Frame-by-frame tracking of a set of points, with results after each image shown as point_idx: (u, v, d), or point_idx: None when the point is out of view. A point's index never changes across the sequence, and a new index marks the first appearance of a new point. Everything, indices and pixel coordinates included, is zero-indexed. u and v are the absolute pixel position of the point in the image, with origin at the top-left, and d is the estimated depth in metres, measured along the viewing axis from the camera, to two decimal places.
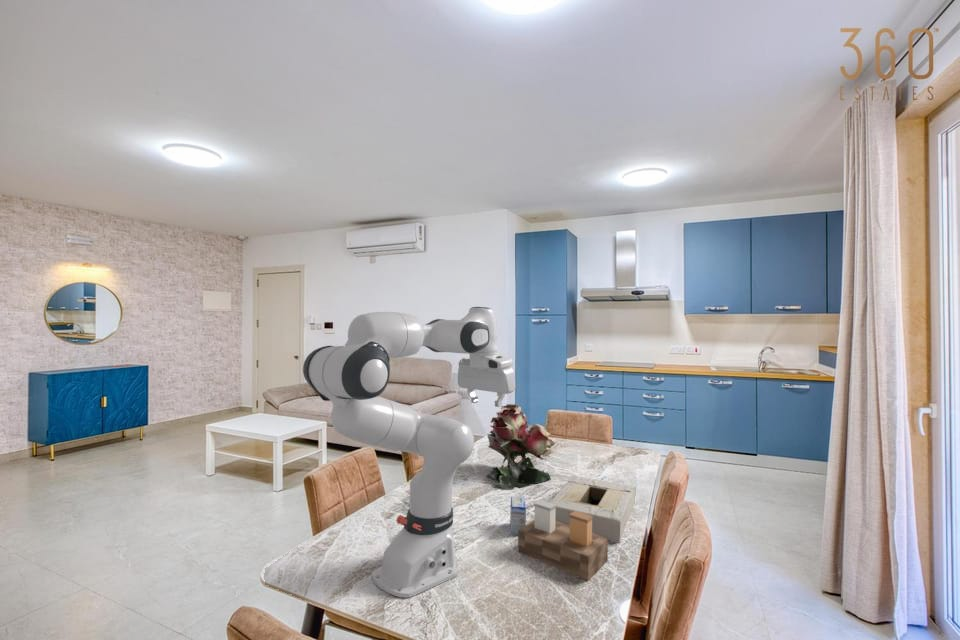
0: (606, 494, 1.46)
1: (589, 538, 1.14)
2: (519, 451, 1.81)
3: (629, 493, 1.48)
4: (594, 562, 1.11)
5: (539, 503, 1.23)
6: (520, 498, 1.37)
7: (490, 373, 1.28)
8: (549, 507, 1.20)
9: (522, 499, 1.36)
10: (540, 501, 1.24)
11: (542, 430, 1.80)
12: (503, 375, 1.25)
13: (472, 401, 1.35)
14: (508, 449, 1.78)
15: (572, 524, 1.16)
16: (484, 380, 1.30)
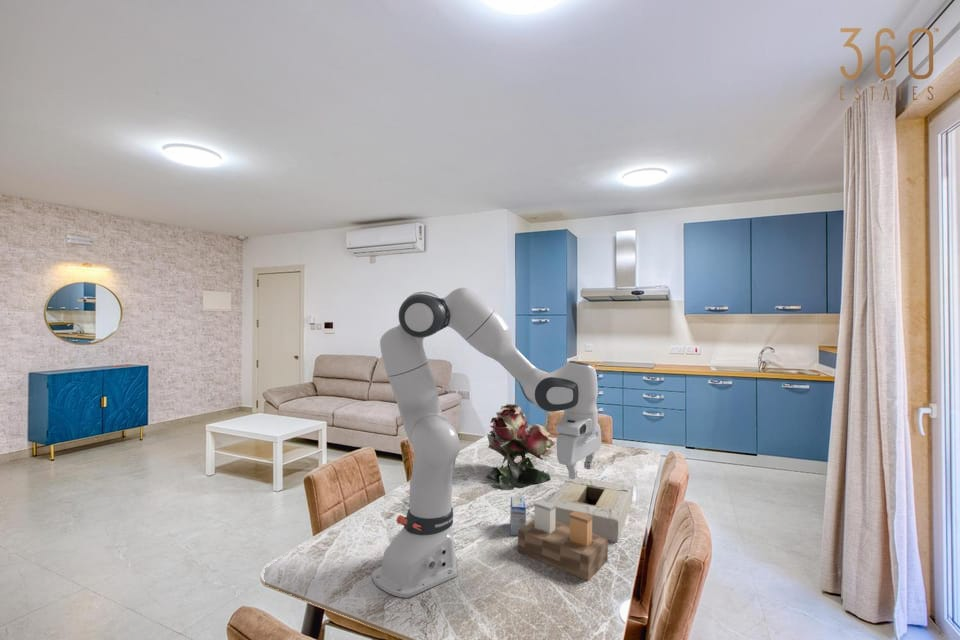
0: (603, 494, 1.47)
1: (589, 538, 1.14)
2: (519, 451, 1.81)
3: (626, 493, 1.48)
4: (594, 562, 1.11)
5: (539, 503, 1.23)
6: (520, 498, 1.37)
7: None
8: (549, 507, 1.20)
9: (522, 499, 1.36)
10: (540, 501, 1.24)
11: (542, 430, 1.80)
12: None
13: None
14: (507, 449, 1.78)
15: (572, 524, 1.16)
16: None
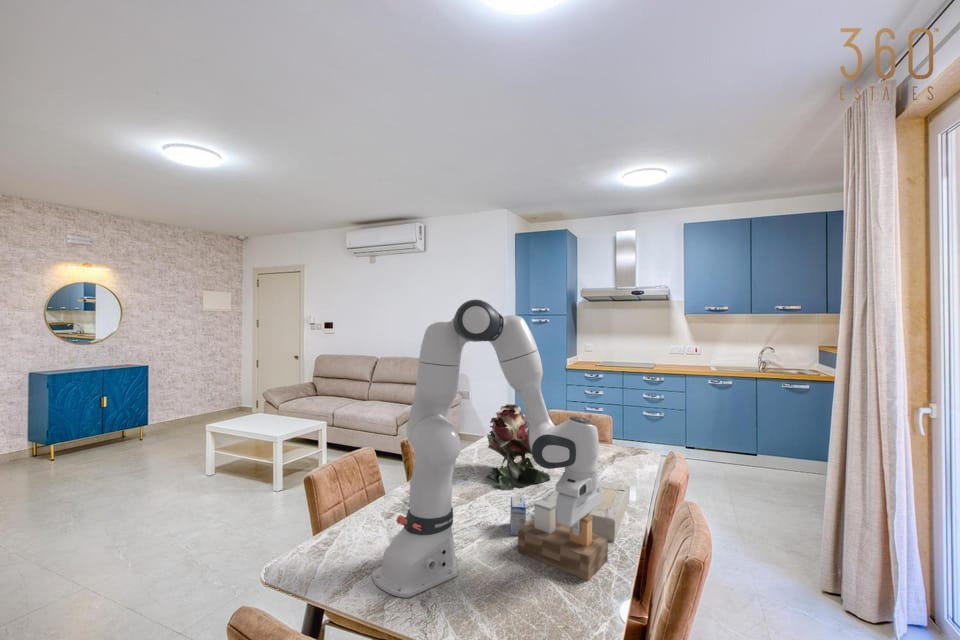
0: None
1: (589, 538, 1.14)
2: (519, 451, 1.81)
3: (623, 492, 1.48)
4: (594, 562, 1.11)
5: (539, 503, 1.23)
6: (520, 498, 1.37)
7: None
8: (549, 507, 1.20)
9: (522, 499, 1.36)
10: (540, 501, 1.24)
11: None
12: None
13: None
14: (507, 449, 1.78)
15: None
16: None
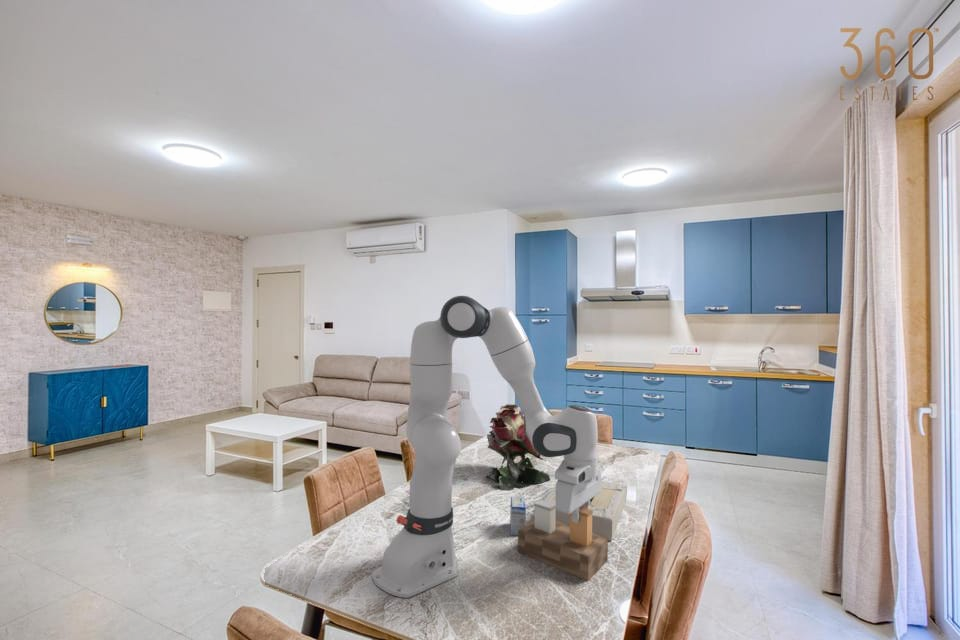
0: None
1: (589, 532, 1.14)
2: (518, 451, 1.81)
3: (620, 492, 1.48)
4: (594, 562, 1.11)
5: (539, 503, 1.23)
6: (520, 498, 1.37)
7: None
8: (549, 507, 1.20)
9: (522, 499, 1.36)
10: (540, 501, 1.24)
11: None
12: None
13: None
14: (507, 449, 1.78)
15: None
16: None
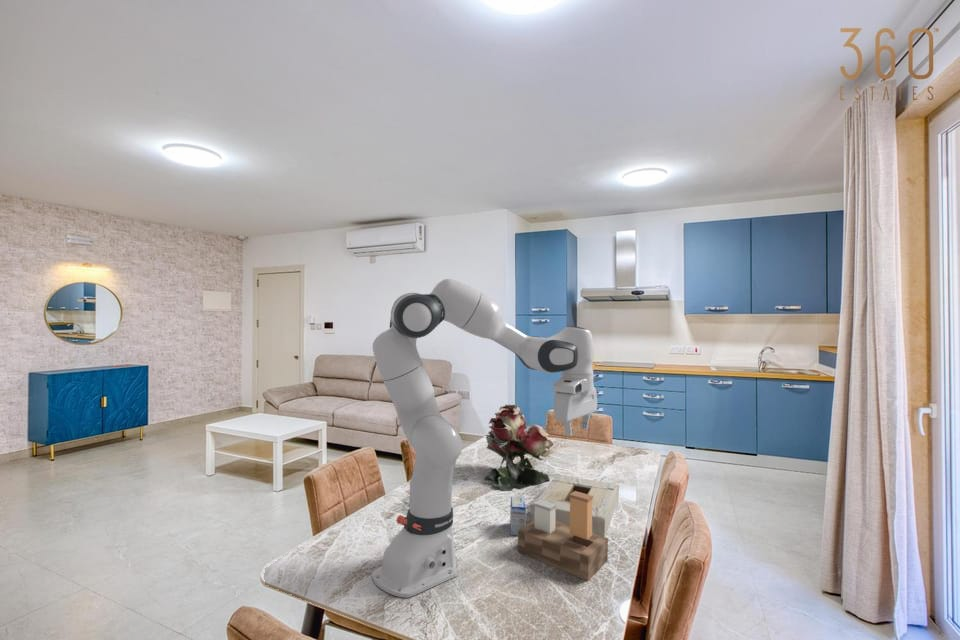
0: (590, 492, 1.48)
1: (589, 518, 1.14)
2: (518, 452, 1.80)
3: (612, 491, 1.49)
4: (594, 562, 1.11)
5: (539, 503, 1.23)
6: (520, 498, 1.37)
7: None
8: (549, 507, 1.20)
9: (522, 499, 1.36)
10: (540, 501, 1.24)
11: (541, 431, 1.79)
12: None
13: None
14: (506, 450, 1.77)
15: (572, 504, 1.16)
16: None
